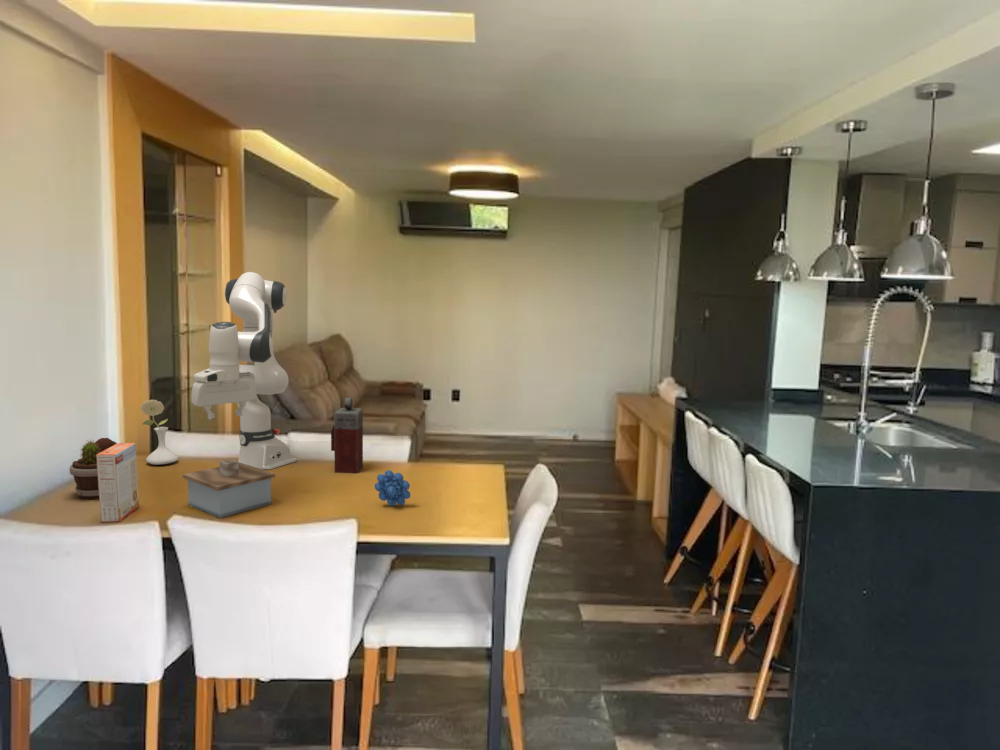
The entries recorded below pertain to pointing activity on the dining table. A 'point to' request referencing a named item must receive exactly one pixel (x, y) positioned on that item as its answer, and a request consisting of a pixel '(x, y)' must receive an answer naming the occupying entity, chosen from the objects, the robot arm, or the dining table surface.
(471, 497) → the dining table surface
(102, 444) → the ice cream bowl
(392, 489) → the blue knobby flower shape
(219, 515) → the bin
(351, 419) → the red grey canister
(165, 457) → the flower in vase
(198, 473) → the lid
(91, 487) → the flowerpot
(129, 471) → the cracker box
